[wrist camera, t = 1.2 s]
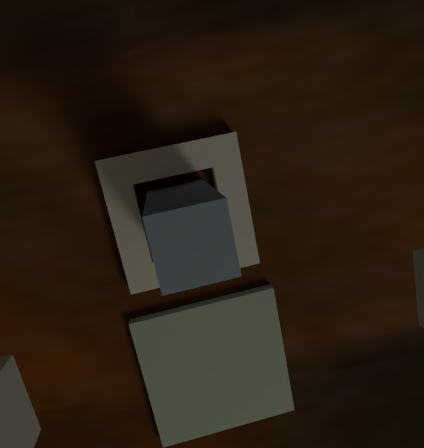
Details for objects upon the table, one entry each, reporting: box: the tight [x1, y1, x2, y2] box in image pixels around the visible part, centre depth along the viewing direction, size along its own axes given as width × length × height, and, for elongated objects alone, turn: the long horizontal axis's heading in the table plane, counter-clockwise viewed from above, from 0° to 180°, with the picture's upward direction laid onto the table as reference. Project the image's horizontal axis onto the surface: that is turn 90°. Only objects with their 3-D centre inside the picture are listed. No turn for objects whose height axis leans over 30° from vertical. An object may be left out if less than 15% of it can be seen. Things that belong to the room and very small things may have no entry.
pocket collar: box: [95, 132, 260, 294], centre depth 33 cm, size 12×12×2 cm
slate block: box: [142, 180, 241, 296], centre depth 28 cm, size 5×5×12 cm
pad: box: [129, 284, 294, 447], centre depth 37 cm, size 14×14×1 cm
